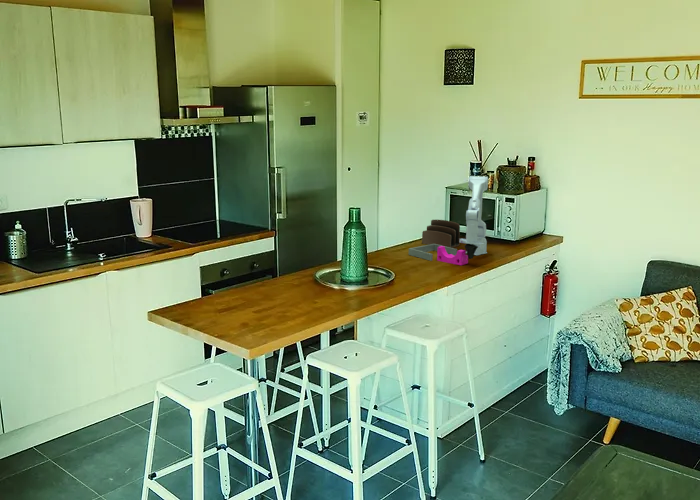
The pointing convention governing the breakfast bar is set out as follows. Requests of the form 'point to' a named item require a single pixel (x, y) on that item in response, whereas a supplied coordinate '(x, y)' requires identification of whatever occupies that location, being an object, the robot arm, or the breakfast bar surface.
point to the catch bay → (422, 250)
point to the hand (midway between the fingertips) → (470, 258)
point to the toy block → (452, 256)
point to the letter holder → (442, 233)
